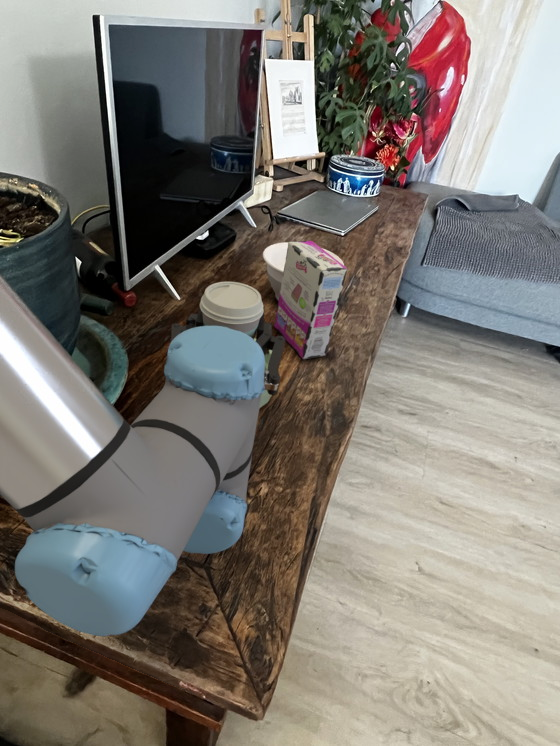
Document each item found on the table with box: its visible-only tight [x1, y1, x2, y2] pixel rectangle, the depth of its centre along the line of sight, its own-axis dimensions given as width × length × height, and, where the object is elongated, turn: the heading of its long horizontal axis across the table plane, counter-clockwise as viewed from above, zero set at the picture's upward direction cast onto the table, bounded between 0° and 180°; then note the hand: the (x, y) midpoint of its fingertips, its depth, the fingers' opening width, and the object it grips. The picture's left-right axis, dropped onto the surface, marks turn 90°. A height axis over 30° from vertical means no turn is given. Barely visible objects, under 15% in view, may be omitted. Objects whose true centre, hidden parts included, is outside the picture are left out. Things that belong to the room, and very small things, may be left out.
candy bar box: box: [274, 240, 349, 360], centre depth 82 cm, size 11×5×16 cm, turn 27°
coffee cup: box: [199, 281, 265, 339], centre depth 69 cm, size 9×8×12 cm
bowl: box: [262, 241, 345, 301], centre depth 98 cm, size 16×16×8 cm
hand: (232, 310), depth 72 cm, fingers closed on coffee cup, 8 cm apart
